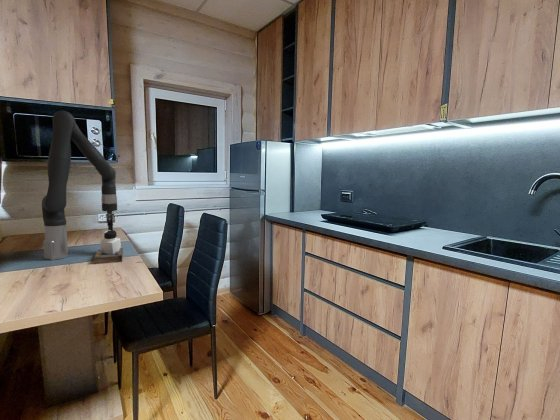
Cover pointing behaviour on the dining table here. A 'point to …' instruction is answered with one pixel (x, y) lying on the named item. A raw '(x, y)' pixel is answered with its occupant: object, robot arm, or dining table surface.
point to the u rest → (108, 257)
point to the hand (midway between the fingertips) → (110, 232)
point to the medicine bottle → (110, 242)
